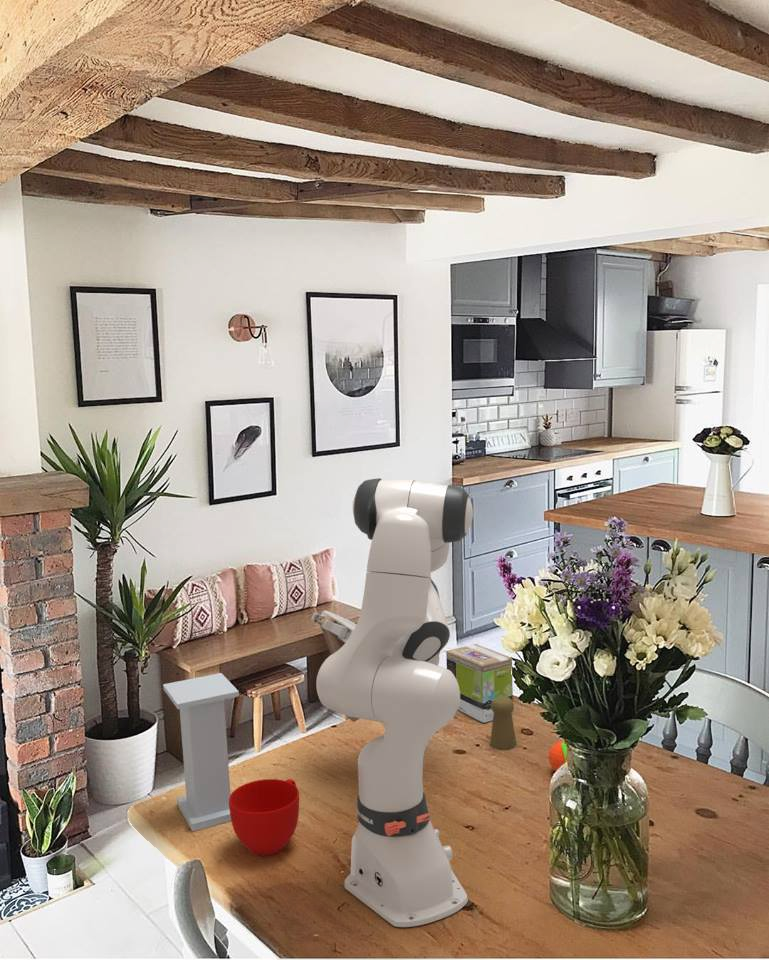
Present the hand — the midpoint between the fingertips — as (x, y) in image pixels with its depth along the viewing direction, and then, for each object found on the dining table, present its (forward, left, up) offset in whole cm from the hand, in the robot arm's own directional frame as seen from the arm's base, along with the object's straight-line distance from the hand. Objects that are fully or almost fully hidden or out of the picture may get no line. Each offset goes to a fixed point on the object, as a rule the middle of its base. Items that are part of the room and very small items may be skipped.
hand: (318, 620), depth 186 cm
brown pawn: (-5, -42, -36) cm, 55 cm away
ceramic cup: (-17, +18, -36) cm, 43 cm away
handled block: (0, -6, -10) cm, 12 cm away
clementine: (-24, -45, -36) cm, 62 cm away
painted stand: (0, +26, -35) cm, 44 cm away
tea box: (+15, -48, -36) cm, 62 cm away
